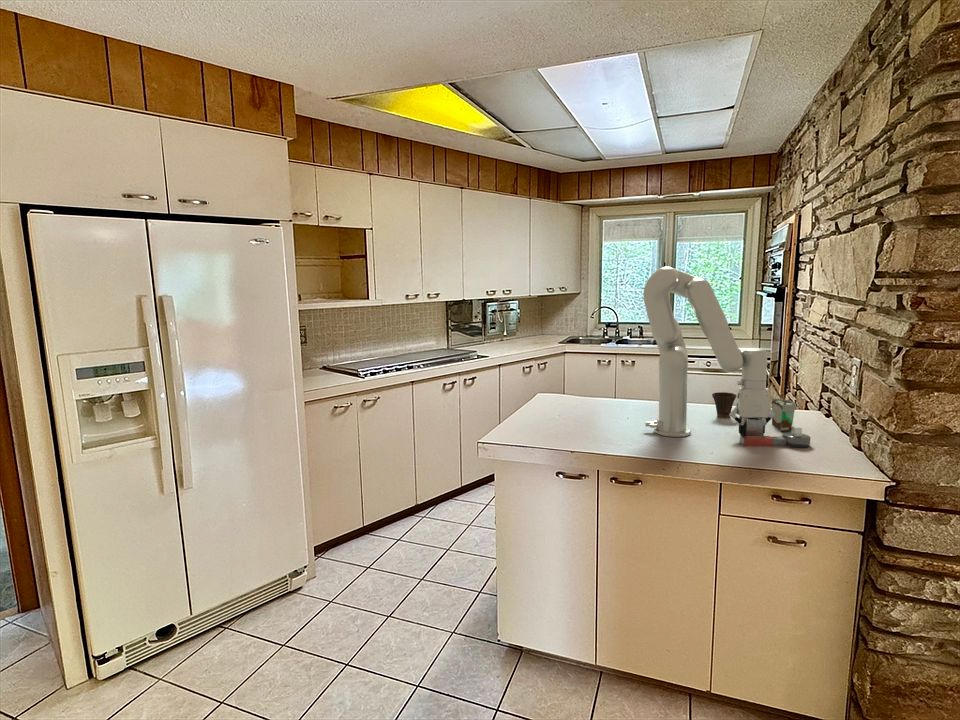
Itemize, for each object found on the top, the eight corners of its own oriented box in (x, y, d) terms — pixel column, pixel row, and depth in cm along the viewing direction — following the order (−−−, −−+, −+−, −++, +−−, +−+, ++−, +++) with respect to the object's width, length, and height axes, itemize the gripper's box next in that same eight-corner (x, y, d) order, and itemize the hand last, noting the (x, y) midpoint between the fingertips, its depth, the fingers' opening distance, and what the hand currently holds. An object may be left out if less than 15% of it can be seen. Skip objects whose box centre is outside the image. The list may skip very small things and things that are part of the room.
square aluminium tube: (746, 440, 184) (747, 420, 183) (740, 435, 189) (741, 416, 188) (762, 439, 183) (763, 420, 182) (756, 435, 188) (757, 416, 187)
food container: (800, 433, 188) (802, 406, 187) (781, 433, 190) (783, 405, 188) (788, 424, 200) (789, 398, 199) (770, 424, 202) (771, 398, 200)
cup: (728, 420, 206) (726, 394, 206) (708, 418, 214) (706, 393, 214) (743, 417, 210) (741, 392, 210) (723, 416, 218) (721, 391, 218)
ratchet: (746, 448, 175) (747, 430, 174) (737, 441, 183) (738, 423, 182) (814, 448, 173) (815, 430, 172) (802, 441, 180) (803, 423, 180)
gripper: (731, 386, 180) (729, 438, 183) (784, 386, 179) (782, 438, 181) (723, 382, 188) (722, 432, 190) (775, 381, 186) (772, 432, 189)
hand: (751, 434), depth 186 cm, fingers closed on square aluminium tube, 5 cm apart
